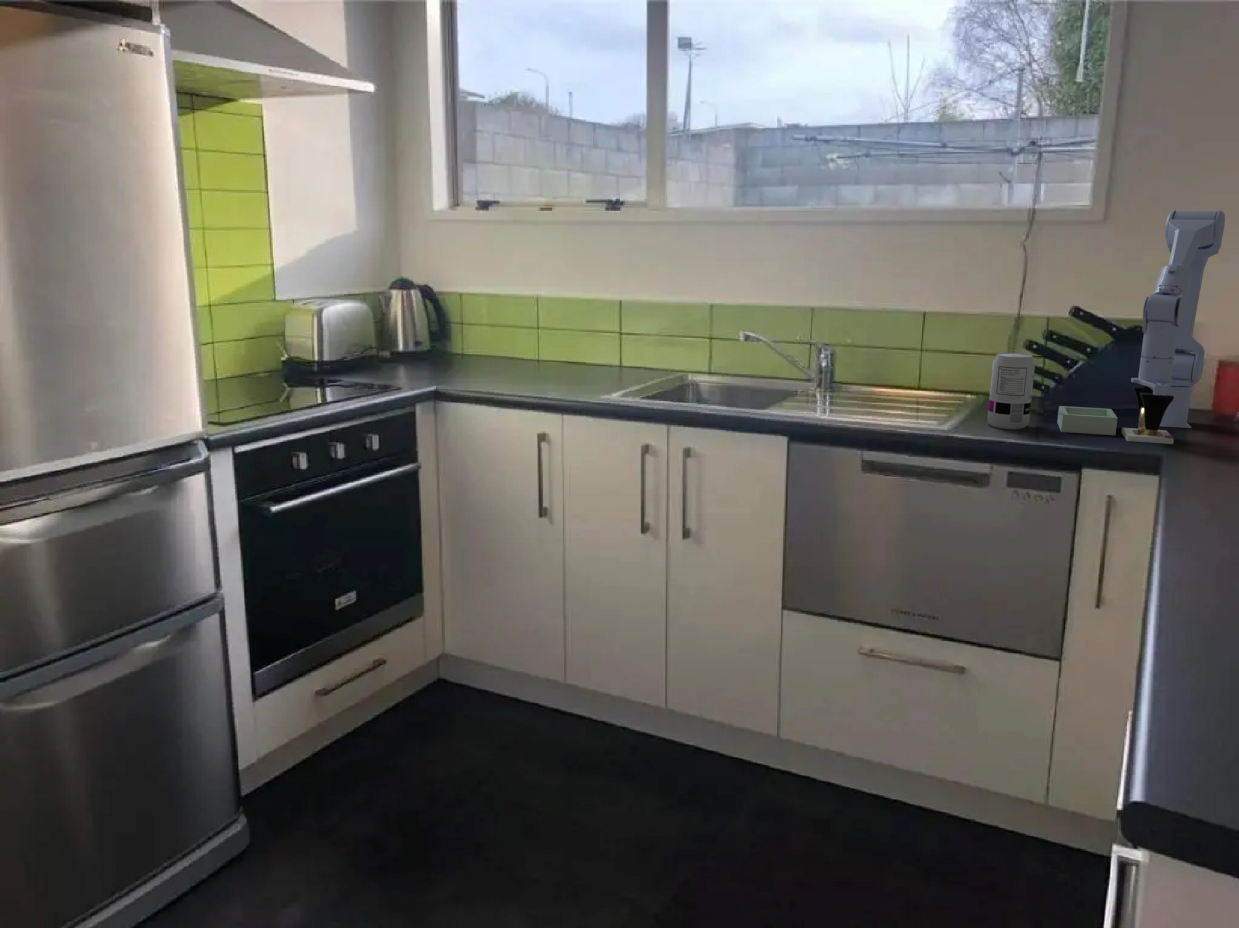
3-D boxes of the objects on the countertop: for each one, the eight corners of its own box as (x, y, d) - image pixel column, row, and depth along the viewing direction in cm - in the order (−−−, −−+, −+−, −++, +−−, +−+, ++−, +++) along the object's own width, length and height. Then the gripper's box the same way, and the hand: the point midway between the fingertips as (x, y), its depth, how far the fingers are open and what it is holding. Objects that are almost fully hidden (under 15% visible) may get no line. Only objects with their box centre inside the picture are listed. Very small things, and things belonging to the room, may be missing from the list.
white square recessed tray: (1121, 435, 204) (1122, 426, 203) (1165, 437, 201) (1166, 429, 201) (1126, 443, 196) (1128, 434, 196) (1172, 446, 194) (1174, 437, 193)
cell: (1135, 435, 201) (1139, 403, 199) (1155, 436, 200) (1159, 404, 198) (1138, 439, 198) (1142, 406, 196) (1158, 440, 197) (1162, 407, 195)
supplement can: (978, 423, 214) (984, 353, 211) (1008, 420, 217) (1015, 351, 214) (1006, 431, 207) (1013, 358, 203) (1037, 428, 210) (1044, 356, 207)
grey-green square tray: (1057, 424, 214) (1059, 406, 213) (1108, 427, 211) (1111, 409, 210) (1060, 433, 205) (1063, 414, 204) (1115, 437, 201) (1117, 417, 200)
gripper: (1129, 351, 203) (1120, 417, 206) (1140, 360, 189) (1131, 431, 193) (1168, 353, 201) (1159, 420, 204) (1182, 362, 187) (1172, 434, 190)
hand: (1148, 426), depth 198 cm, fingers open, 7 cm apart
